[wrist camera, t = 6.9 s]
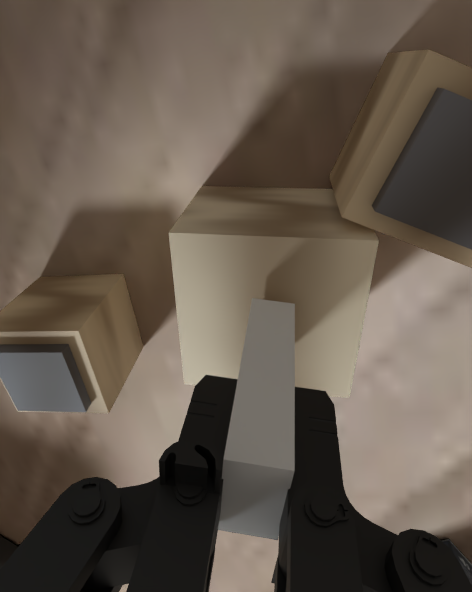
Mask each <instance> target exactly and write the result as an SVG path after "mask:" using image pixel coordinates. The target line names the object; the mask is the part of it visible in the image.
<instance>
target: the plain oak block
mask: <svg viewBox="0 0 472 592" xmlns="http://www.w3.org/2000/svg"><path fill="white" fill-rule="evenodd" d="M169 242H170V251H171V261H172V271H173V280H174V290H175V300H176V310H177V319H178V329H179V339H180V348H181V358H182V368H183V377H184V384H186V385H197V384H198V382H199V381H200V380H201V379H202V378H203V377H204V376H205V375H212V376H219V377H225V378H232V379H238V375H239V369H240V364H241V358H242V353H243V347H244V341H245V336H246V330H247V325H248V319H249V313H250V308H251V302H252V298H255V299H263V300H270V301H278V302H285V303H293V304H295V387H301V388H308V389H315V390H322V391H326V393H327V394H328V396H333V397H345V398H349V397H350V392H351V387H352V381H353V376H354V371H355V365H356V360H357V355H358V350H359V344H360V339H361V334H362V328H363V323H364V318H365V312H366V307H367V302H368V296H369V291H370V286H371V280H372V275H373V270H374V264H375V259H376V254H377V248H378V243H379V240H378V238H377V236H376V233H375V231H374V230H373V229H371V228H368V227H366V226H363V225H360V224H358V223H355V222H353V221H350V220H348V219H345V218H342V217H341V214H340V210H339V207H338V204H337V201H336V198H335V194H334V191H333V189H312V188H271V187H230V186H202V187H201V188H200V190H199V191H198V192H197V194H196V195H195V197H194V198H193V199H192V201H191V202H190V204H189V205H188V206H187V208H186V209H185V210H184V212H183V213H182V215H181V216H180V217H179V219H178V220H177V222H176V223H175V224H174V226H173V227H172V229H171V230H170V231H169Z"/></svg>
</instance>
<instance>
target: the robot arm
mask: <svg viewBox="0 0 472 592" xmlns="http://www.w3.org/2000/svg"><path fill="white" fill-rule="evenodd" d="M159 472H160V477H158V478H157V479H155V480H153V481H151V482H149V483H145V484H142V485H137V486H131V487H124V488H118V489H117V487H116V485H114V484H113V483H112V482H110V481H109V480H108V479H103V478H98V477H94V478H87V479H83V480H81V481H79V482H77V483H75V484H72V485H71V486H70V487H69V488H68V489H67V490H66V491H64V492H63V493H62V494H61V495H60V497H59V498H58V499H57V500H56V501H55V503H54V504H53V505H52V506H51V508H50V509H49V510H48V511H47V512H46V514H45V515H44V516H43V517H42V519H41V520H40V521H39V522H38V523H37V525H36V526H35V527H34V528H33V530H32V531H31V532H30V533H29V535H28V536H27V537H26V538H25V539H24V541H23V542H22V543H21V544H20V546H19V547H17V546H16V545H14V544H13V543H11V542H10V541H8V540H6V539H4V538H2V537H0V592H119V591H120V589H121V587H122V585H124V584H128V583H129V585H128V588H127V592H209V586H210V580H211V573H212V567H213V561H214V553H215V544H216V538H217V531H218V530H222V531H228V532H234V533H240V534H246V535H251V536H257V537H263V538H269V539H274V540H278V536H279V553H278V558H277V562H276V566H275V570H274V574H273V578H272V582H271V583H275V589H274V592H472V585H471V583H470V581H469V579H468V577H467V576H466V574H465V572H464V570H463V568H462V566H461V564H460V562H459V561H458V559H457V558H456V556H455V555H454V554H453V552H452V551H451V549H450V548H449V547H448V546H447V545H446V544H444V543H443V542H442V541H441V540H440V539H439V538H437V537H436V536H434V535H432V534H430V533H427V532H425V531H423V530H415V529H409V530H406V531H403V532H401V533H400V534H399V535H396V534H394V533H392V532H390V531H388V530H386V529H384V528H382V527H380V526H378V525H376V524H374V523H372V522H371V521H369V520H367V519H366V518H364V517H363V516H362V515H361V514H360V513H359V512H357V511H356V510H355V508H354V507H353V506H352V504H351V503H350V502H349V500H348V498H347V496H346V494H345V490H344V486H343V479H342V470H341V461H340V452H339V443H338V437H337V425H336V417H335V408H334V404H333V403H332V401H331V399H330V398H329V396H328V394H327V393H326V391H322V390H315V389H308V388H301V387H295V304H293V303H285V302H278V301H270V300H263V299H255V298H252V302H251V308H250V313H249V319H248V325H247V330H246V336H245V341H244V347H243V353H242V358H241V364H240V369H239V375H238V379H232V378H225V377H219V376H212V375H205V376H204V377H203V378H202V379H201V380H200V381H199V382H198V384H197V385H196V386H195V388H194V392H193V395H192V398H191V403H190V405H189V408H188V411H187V415H186V418H185V421H184V424H183V428H182V431H181V434H180V438H179V441H178V442H176V443H174V444H172V445H171V446H170V447H169V448H167V449H166V450H165V451H164V453H163V455H162V456H161V458H160V460H159Z"/></svg>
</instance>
